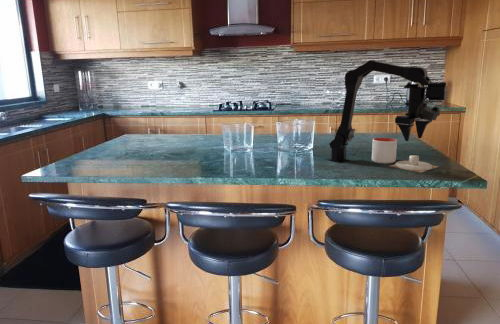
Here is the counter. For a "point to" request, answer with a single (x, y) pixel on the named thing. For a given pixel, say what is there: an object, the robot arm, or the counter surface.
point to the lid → (413, 164)
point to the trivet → (415, 171)
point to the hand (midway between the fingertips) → (413, 139)
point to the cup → (384, 150)
